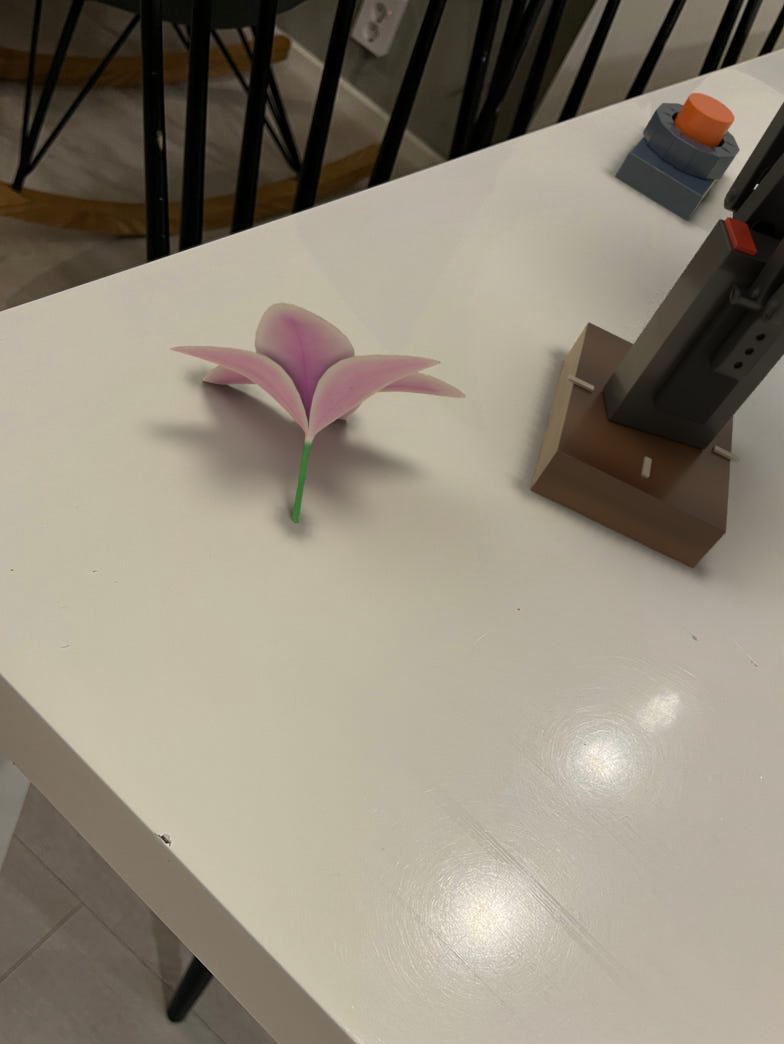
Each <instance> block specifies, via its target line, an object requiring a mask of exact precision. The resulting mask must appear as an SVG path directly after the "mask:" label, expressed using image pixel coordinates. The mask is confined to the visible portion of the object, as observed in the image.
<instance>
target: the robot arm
mask: <svg viewBox="0 0 784 1044" xmlns="http://www.w3.org/2000/svg"><path fill="white" fill-rule="evenodd" d="M723 209H724V210H726V211H728V212H731V213H732V217H731V218H732V219H735V220H738V221H741V222H743V223H746V224H747V225H748V228H749V229H750V230H753V231H756V232H758V233H761V234H764V235H767V236H769V237H772V238H775V239H778V240H780V241H781V242H780V244H779V245H778V247H777V248H776V250H775V251H774V253H773V254H772V256H771V257H770V259H769V260H768V262H767V263H766V265H765V266H764V268H763V269H762V271H761V272H760V274H759V275H758V277H757V278H756V280H755V281H754V283H753V284H752V286H751V287H750V289H749V288H746V287H743V286H740V285H738V284H734V285H733V287H732V289H731V292H730V297H729V298H728V299H727V301H726V302H725V303H724V305H723V306H722V307H721V309H720V310H719V311H718V313H717V314H716V316H715V317H714V318H713V320H712V321H711V322H710V324H709V325H708V326H707V328H706V329H705V330H704V332H703V333H702V334H701V336H700V337H699V338H698V340H697V341H696V342H695V344H694V345H693V346H692V348H691V349H690V350H689V352H688V353H687V354H686V356H685V357H684V358H683V360H682V361H681V362H680V364H679V365H678V366H677V368H676V369H675V371H674V372H673V373H672V375H671V376H670V377H669V379H668V380H667V381H666V383H665V384H664V385H663V387H662V388H661V389H660V391H659V392H658V393H657V395H656V396H655V397H654V399H653V401H654V405H655V409H656V410H659V411H663V412H666V413H669V414H672V415H675V416H678V417H682V418H685V419H688V420H691V421H694V422H697V423H700V424H705V423H706V422H707V421H708V419H709V418H710V417H711V416H712V415H713V413H714V412H715V411H716V410H717V408H718V407H719V406H720V405H721V403H722V402H723V401H724V400H725V399H726V397H727V396H728V395H729V394H730V392H731V391H732V390H733V389H734V387H735V386H736V385H737V384H738V383H739V381H740V380H742V379H743V378H744V377H746V376H747V375H748V374H749V373H750V371H751V370H752V369H753V368H754V365H756V364H757V363H758V361H759V360H760V358H762V357H763V355H764V354H765V353H766V352H767V350H768V349H769V348H770V347H771V346H772V344H773V343H774V342H775V341H776V339H777V338H778V337H779V336H780V335H781V333H782V332H784V101H783V102H782V103H781V106H780V107H779V108H778V110H777V112H776V114H775V115H774V117H772V120H771V121H770V123H769V125H767V128H766V130H765V131H764V132H763V134H762V136H761V138H760V139H759V141H758V142H757V143H756V146H755V147H754V148H753V150H752V152H751V154H750V155H749V157H748V159H747V160H746V162H745V164H744V165H743V166H742V168H741V170H740V172H739V173H738V175H737V176H736V178H735V179H734V181H733V183H732V184H731V186H730V187H729V189H728V191H727V193H726V195H725V197H724V200H723Z"/></svg>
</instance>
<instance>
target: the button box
mask: <svg viewBox="0 0 784 1044" xmlns="http://www.w3.org/2000/svg"><path fill="white" fill-rule="evenodd" d="M683 105H684V104H682V103H678V102H675V103H674V102H662V103H661V104H660V105H659V106H658V107H657V108H655V111H654V113H653V114H652V116H651V117H650V119H649V121H648V122H647V124H646V126H645V128H644V130H643V131H642V134H643V137H642V138H641V139H640V140H638V142H637V143H636V144H635V145H634V147H632V148H631V150H630V151H629V152H628V154H627V155H626V157H625V159H624V160H623V162H622V164H621V166H620V167H619V169H618V171H617V172H616V174H615V176H614V177H615V178H616V179H618V180H619V181H621V182H622V183H623V184H625V185H627V186H628V187H631V188H632V189H634V190H635V191H636V192H638V193H640V194H641V195H644V196H645V197H647V198H648V199H650V200H652V201H653V202H655V203H656V204H658V205H659V206H661V207H663V208H664V209H666V210H668V211H669V212H671V213H673V215H676V216H678V217H679V218H680V219H683V220H684V221H685V222H688V220H689V219H690V218H691V216H692V215H693V214H694V212H695V211H696V209H697V208H698V207H699V206H700V204H701V202H702V201H703V200H704V198H705V197H706V195H707V194H708V193H709V192H710V189H712V187H713V185H714V184H716V182H717V181H718V180H721V179H722V177H723V176H724V174H725V173H726V172H727V170H728V169H729V168H730V165H731V164H732V163H733V161H734V160H735V158H736V157H737V155H738V154H739V153H740V150H741V149H740V147H739V145H738V142H737V140H736V139H735V136H734V135H733V134H732V133H731V132H730V131H729V130H728V131H727V133H726V134H725V136H724V137H723V139H722V140H721V142H720V143H719V145H718V146H717V147H710V146H707V145H704V144H701V143H698V142H696V141H695V140H693V139H692V138H690V137H688V136H687V135H685V134H684V133H682V132H681V131H680V130H679V129H678V128H677V127H676V126H675V124H674V120H675V118H676V117H677V115H678V113H679V112H680V110H681V108H682V107H683Z"/></svg>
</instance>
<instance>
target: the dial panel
mask: <svg viewBox="0 0 784 1044" xmlns="http://www.w3.org/2000/svg"><path fill="white" fill-rule="evenodd" d="M633 344H634V343H633V342H630V341H628V340H626V339H625V338H622V337H621V336H619V335H617V334H615V333H612V332H611V331H610V332H609V331H608V330H606V329H604V328H602V327H600V326H598V325H596V324H594V323H592V322H589V321H588V322H587V323H586V325H585V326H584V329H582V331H581V333H580V334H579V336H578V337H577V339H576V341H574V344H573V345H572V347H571V348H570V350H569V352H568V354H567V355H566V357H565V358H564V359H563V361H562V362H563V363H562V366H561V370H560V373H559V378H558V382H557V385H556V389H555V393H554V396H553V401H552V404H551V408H550V413H549V415H548V420H547V423H546V427H545V431H544V435H543V438H542V443H541V447H540V451H539V455H538V457H537V458H538V459H537V462H536V466H535V469H534V474H533V478H532V481H531V485H530V491H531V492H533V493H534V494H537V495H539V496H541V497H543V498H546V499H547V500H549V501H552V502H554V503H556V504H558V505H560V506H562V507H564V508H567V509H568V510H570V511H573V512H574V513H576V514H579V515H581V516H583V517H585V518H587V519H589V520H591V521H593V522H595V523H597V524H600V525H602V526H604V527H605V528H608V529H610V530H612V531H614V532H616V533H618V534H620V535H622V536H625V537H626V538H628V539H631V540H632V541H635V542H637V543H639V544H641V545H644V546H645V547H647V548H650V549H651V550H654V551H655V552H658V553H660V554H661V555H664V556H666V557H668V558H670V559H672V560H674V561H676V562H678V563H681V564H682V565H685V566H686V567H689V568H691V569H694V568H695V567H696V566H697V565H698V563H699V562H701V560H702V559H703V558H704V557H705V556H706V555H707V554H708V553H709V552H710V551H711V549H713V547H714V546H715V545H716V544H717V543H718V542H719V541H720V540H721V539H722V538H723V537H724V536H725V534H726V533H727V521H728V507H729V506H728V505H729V492H730V491H729V490H730V477H731V476H730V475H731V463H732V462H734V463H736V464H737V463H739V462H740V456H738V455H736V454H735V453H732V447H733V446H732V445H733V429H734V415H733V416H732V418H731V419H730V420H729V421H728V422H727V424H726V425H725V426H724V427H723V428H722V430H721V431H720V432H719V433H718V434H717V436H716V437H715V438H714V439H713V440H712V442H711V443H710V444H709V445H708V446H707V448H706V449H705V450H704V449H701V448H697V447H694V446H691V445H688V444H684V443H681V442H678V441H675V440H671V439H668V438H665V437H662V436H658V435H655V434H652V433H649V432H645V431H642V430H639V429H636V428H632V427H629V426H626V425H623V424H619V423H616V422H613V421H610V420H609V419H608V413H607V408H606V402H605V397H604V391H603V388H604V386H605V385H606V383H607V382H608V380H609V379H610V377H611V376H612V375H613V373H614V372H615V370H616V369H617V367H618V366H619V364H620V363H621V361H622V360H623V359H624V357H625V356H626V354H627V353H628V351H629V350H630V348H631V347H632V345H633ZM731 461H732V462H731Z"/></svg>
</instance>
